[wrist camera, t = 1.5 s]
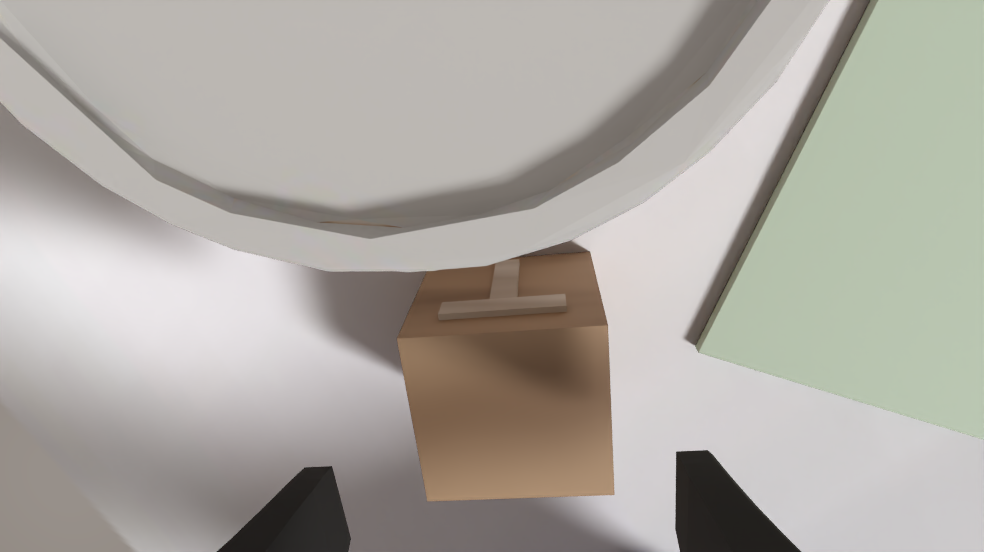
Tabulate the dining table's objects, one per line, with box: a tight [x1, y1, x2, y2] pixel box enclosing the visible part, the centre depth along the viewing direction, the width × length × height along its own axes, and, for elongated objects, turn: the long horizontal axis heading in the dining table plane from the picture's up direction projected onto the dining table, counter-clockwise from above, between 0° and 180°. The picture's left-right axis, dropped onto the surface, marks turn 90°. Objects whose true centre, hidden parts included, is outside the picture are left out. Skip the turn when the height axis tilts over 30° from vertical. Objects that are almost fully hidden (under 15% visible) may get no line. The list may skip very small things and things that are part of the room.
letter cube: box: [397, 252, 614, 501], centre depth 17 cm, size 5×5×5 cm
